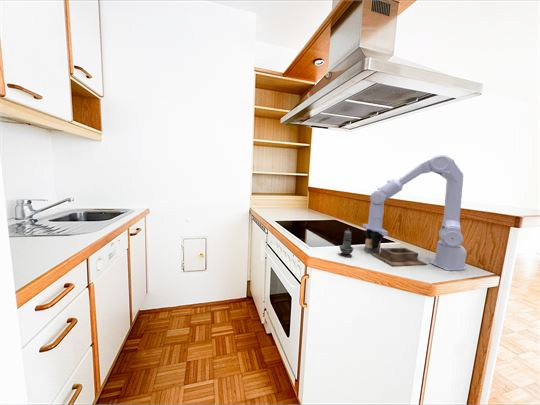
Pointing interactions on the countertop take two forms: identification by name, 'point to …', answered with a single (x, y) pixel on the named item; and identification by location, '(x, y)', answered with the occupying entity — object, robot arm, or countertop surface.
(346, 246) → the grey stone statuette
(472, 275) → the countertop surface
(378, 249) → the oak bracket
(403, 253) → the brown flanged tray
